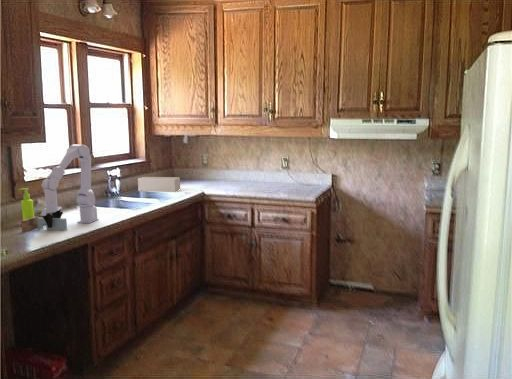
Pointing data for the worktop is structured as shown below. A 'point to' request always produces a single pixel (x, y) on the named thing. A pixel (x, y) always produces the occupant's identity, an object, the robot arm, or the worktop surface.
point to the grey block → (53, 224)
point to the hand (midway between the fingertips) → (53, 226)
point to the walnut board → (30, 223)
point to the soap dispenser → (27, 205)
